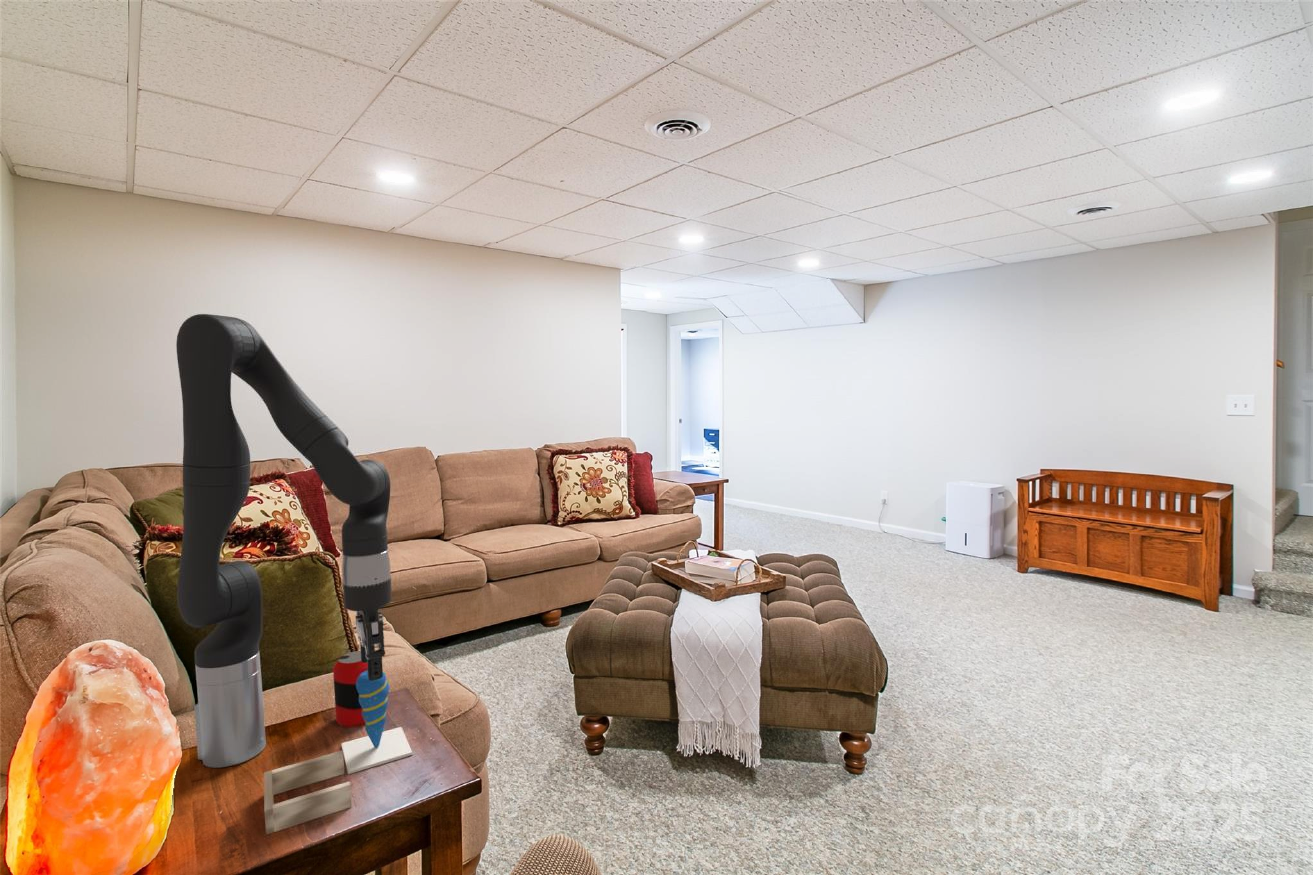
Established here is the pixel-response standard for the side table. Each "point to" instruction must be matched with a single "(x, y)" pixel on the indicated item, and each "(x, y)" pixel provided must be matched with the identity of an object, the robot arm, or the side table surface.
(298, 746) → the side table surface
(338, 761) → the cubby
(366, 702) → the ornament
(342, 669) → the soda can
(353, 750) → the pad
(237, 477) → the robot arm
